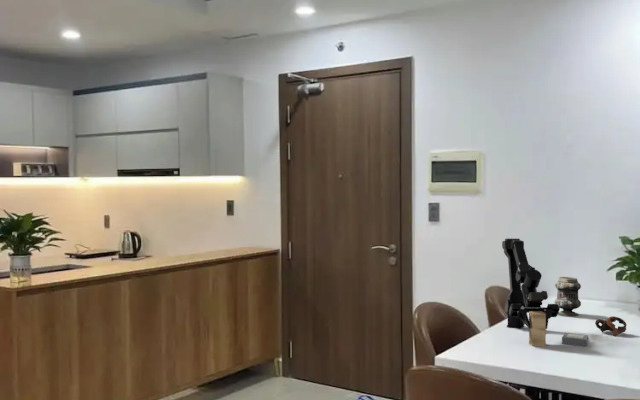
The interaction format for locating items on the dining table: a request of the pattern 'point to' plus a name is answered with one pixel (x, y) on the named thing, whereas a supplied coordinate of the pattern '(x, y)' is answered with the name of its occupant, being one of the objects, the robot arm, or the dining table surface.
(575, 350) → the dining table surface
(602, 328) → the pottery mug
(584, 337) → the base tile
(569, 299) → the apothecary jar
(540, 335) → the oak post
